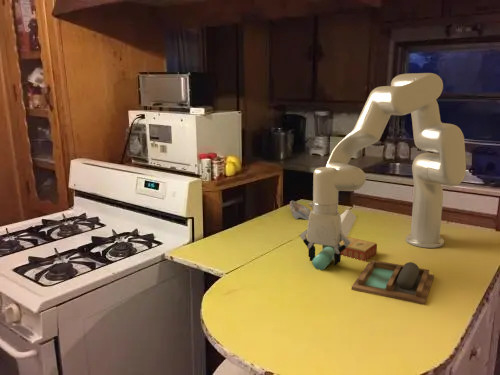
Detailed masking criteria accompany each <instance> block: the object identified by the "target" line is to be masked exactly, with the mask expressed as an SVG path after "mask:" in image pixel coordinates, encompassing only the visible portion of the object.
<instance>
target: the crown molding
mask: <svg viewBox="0 0 500 375" xmlns="http://www.w3.org/2000/svg"><path fill="white" fill-rule="evenodd" d="M340 217H341V224H342V233H343V234H344V235H345V236H346V237H349V234H350V232H351V229H352V228H353V226H354V223H355V221H356V219H357V216H356V215H355V214H354V213H353V212H352V210H350V209H346V210H345V211H343V212H342V213H340Z"/></svg>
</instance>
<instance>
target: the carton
mask: <svg viewBox="0 0 500 375" xmlns="http://www.w3.org/2000/svg"><path fill="white" fill-rule="evenodd" d="M347 238H348V239H349V240H350V241H351V243H350V244H349V245H348V246H347V247H346V248H345V249H344V250H343V251H342V252H341V256H342V255H343V257H346V256H347V257H346V258H350V257H351V259H354V258H355V260H357V259H358V261H361V260H362V261H361V262H367V261H368V260H370V259H372V257H375V256H376V255H377V252H378V244H377V243H376V242H374V241H373V242H372V241H368V240H363V239H359V238H354V237H350V236H347ZM339 243H340V245H341V246H342V245H344V241H343V240H342V241H341V242H339ZM325 247H331V248H333V247H332V246H325V245H322V250H323V249H324V248H325ZM333 249H334V248H333Z"/></svg>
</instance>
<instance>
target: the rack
mask: <svg viewBox="0 0 500 375" xmlns="http://www.w3.org/2000/svg"><path fill="white" fill-rule="evenodd" d="M404 265H405V264H399V263H398V264H397V263H393V262H386V261H382V260H381V261H380V260H374V259H372V260H371V261H370V262H368V263H367V264H366V265H365V267H364V268H363V270H362V271H361V273H360V274H359V276H358V277H357V278H356V280H355V281H354V283H353V284H352V285H351V290H354V291H357V292H363V293H367V294H373V295H378V296H382V297H386V298H392V299H396V300H401V301H407V302H410V303H413V304H415V303H416V304H420V305H421V304H422V305H424V306H425V305H426V303H427V302H426V301H427V299H428V296H429V293H430V290H431V288H432V283H433V281H434V278H435V274H432V273H430V269H427V268H420V267H419V274H418V276H417V279H416V281H415V283H414V286H413V287H412V288H411V289H409V290H405V289H402V288H400V287H399V286H398V284H397V278H398V276H399V274H400V272H401V271H402V269H403V267H404Z"/></svg>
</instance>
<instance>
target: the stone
mask: <svg viewBox="0 0 500 375" xmlns="http://www.w3.org/2000/svg"><path fill="white" fill-rule="evenodd" d="M289 209H290V212H291V214H292V217H293V218H294V219H295V220H299V219H303V220H306V221H309V215H310V211H312V209H310V208H309V207H308V206H306V205H304V204H302V203H298V201H297V202H296V201H295V200H291V201H289Z"/></svg>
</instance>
